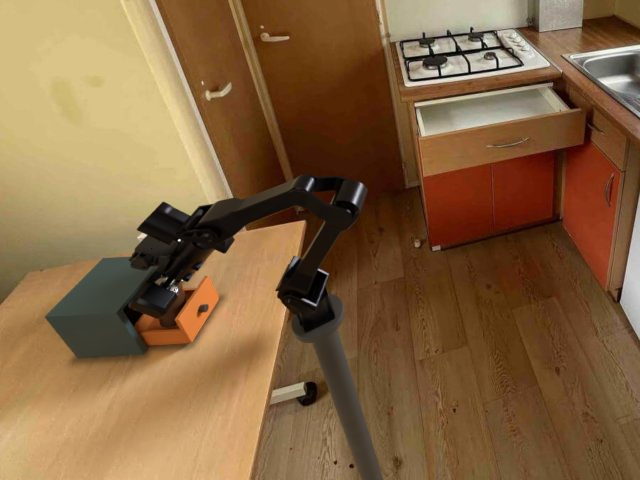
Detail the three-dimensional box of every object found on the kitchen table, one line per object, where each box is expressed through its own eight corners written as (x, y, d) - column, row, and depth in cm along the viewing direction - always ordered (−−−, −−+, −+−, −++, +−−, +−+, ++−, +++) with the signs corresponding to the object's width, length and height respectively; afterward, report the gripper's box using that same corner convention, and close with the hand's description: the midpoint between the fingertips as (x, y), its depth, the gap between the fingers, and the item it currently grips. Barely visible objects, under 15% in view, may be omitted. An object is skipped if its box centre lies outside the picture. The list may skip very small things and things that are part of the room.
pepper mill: (195, 310, 92) (185, 270, 89) (174, 328, 87) (162, 287, 84) (176, 308, 93) (165, 268, 90) (153, 325, 88) (141, 284, 85)
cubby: (186, 294, 99) (164, 254, 93) (144, 354, 86) (116, 312, 80) (128, 298, 98) (102, 257, 92) (77, 358, 86) (44, 316, 80)
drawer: (224, 298, 98) (214, 275, 94) (197, 342, 88) (184, 319, 85) (168, 301, 97) (155, 278, 93) (135, 346, 88) (119, 323, 84)
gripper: (184, 197, 89) (151, 238, 93) (116, 270, 72) (80, 315, 77) (234, 222, 93) (200, 261, 97) (180, 297, 76) (142, 339, 81)
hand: (159, 290), depth 88 cm, fingers closed on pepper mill, 5 cm apart
